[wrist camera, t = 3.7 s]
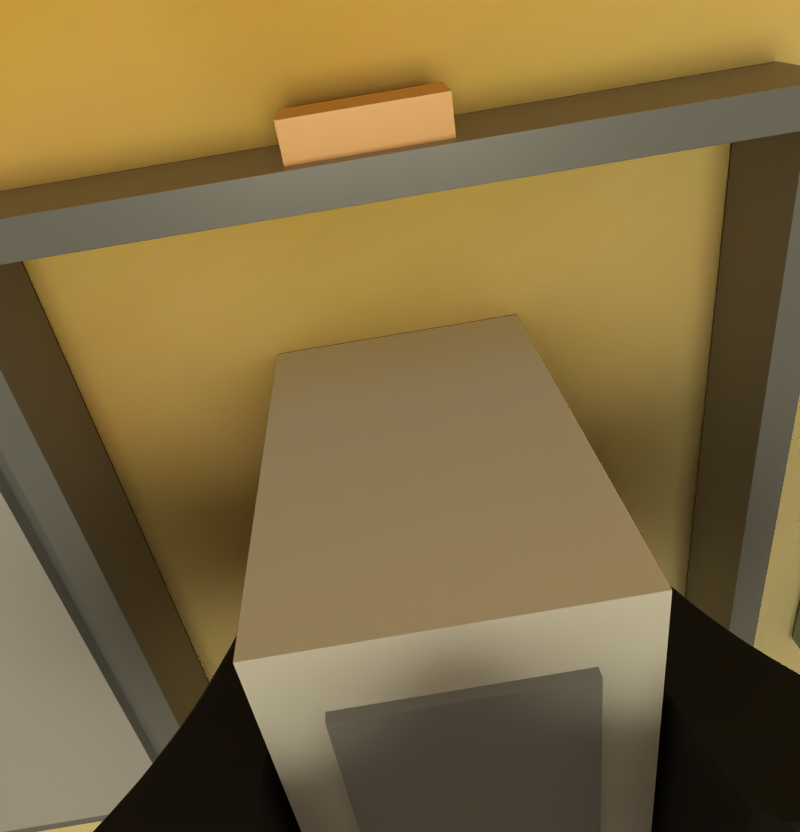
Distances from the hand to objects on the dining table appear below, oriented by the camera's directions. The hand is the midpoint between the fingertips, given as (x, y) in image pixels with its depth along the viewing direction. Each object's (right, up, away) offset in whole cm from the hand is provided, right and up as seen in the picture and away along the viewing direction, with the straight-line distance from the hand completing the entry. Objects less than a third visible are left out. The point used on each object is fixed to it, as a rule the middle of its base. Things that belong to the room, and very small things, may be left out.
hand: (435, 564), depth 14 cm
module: (0, +1, +2) cm, 2 cm away
